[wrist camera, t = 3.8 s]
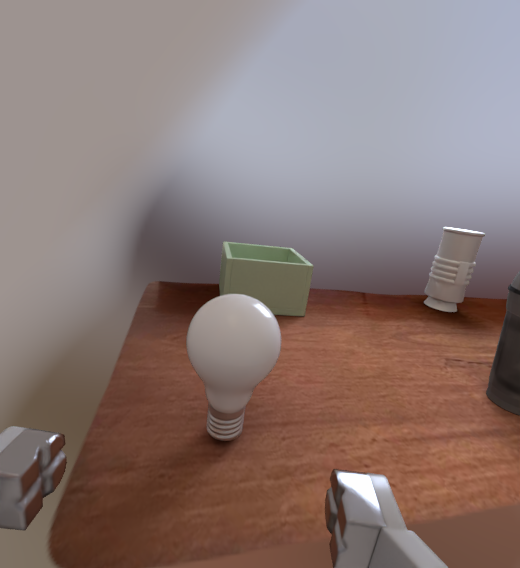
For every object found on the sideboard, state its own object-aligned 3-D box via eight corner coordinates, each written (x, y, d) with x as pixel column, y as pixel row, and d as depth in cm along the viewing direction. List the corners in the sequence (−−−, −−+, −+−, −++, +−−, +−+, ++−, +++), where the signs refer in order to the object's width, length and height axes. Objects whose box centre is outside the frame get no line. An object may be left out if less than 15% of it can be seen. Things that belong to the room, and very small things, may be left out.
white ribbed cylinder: (431, 310, 59) (456, 230, 55) (415, 298, 66) (435, 225, 62) (467, 315, 60) (495, 235, 55) (447, 302, 66) (470, 230, 62)
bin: (221, 311, 46) (226, 258, 44) (219, 284, 58) (223, 241, 56) (304, 316, 49) (313, 265, 46) (285, 289, 60) (292, 248, 58)
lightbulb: (179, 408, 26) (186, 279, 23) (254, 403, 28) (271, 283, 24) (181, 476, 20) (192, 315, 17) (276, 464, 22) (303, 317, 19)
